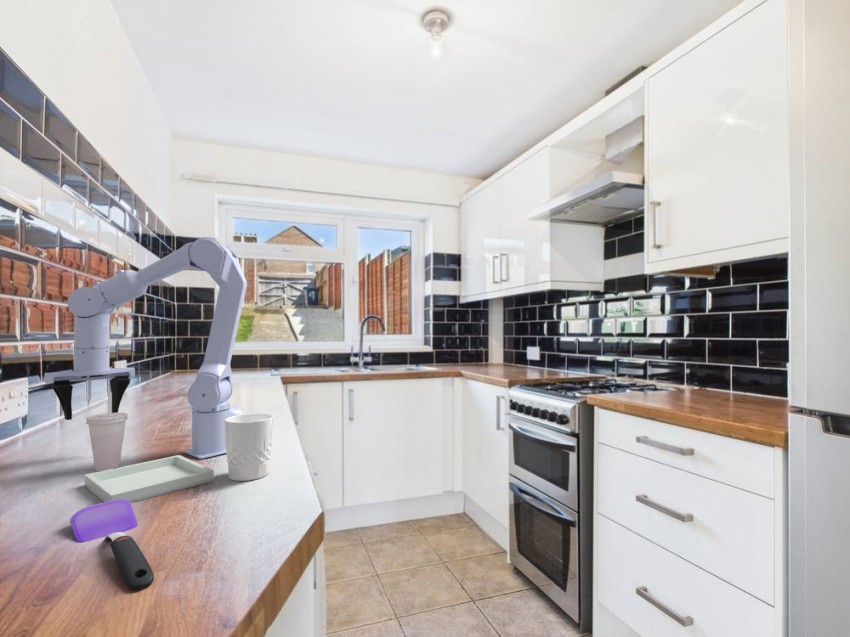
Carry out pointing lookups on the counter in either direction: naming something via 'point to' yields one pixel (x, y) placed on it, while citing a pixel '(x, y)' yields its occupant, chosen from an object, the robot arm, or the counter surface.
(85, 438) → the counter surface
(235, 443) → the white cup
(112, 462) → the smoothie
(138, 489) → the tray
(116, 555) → the spatula
